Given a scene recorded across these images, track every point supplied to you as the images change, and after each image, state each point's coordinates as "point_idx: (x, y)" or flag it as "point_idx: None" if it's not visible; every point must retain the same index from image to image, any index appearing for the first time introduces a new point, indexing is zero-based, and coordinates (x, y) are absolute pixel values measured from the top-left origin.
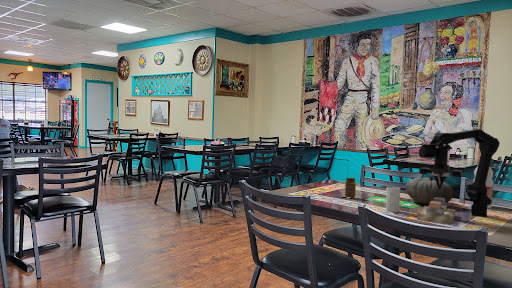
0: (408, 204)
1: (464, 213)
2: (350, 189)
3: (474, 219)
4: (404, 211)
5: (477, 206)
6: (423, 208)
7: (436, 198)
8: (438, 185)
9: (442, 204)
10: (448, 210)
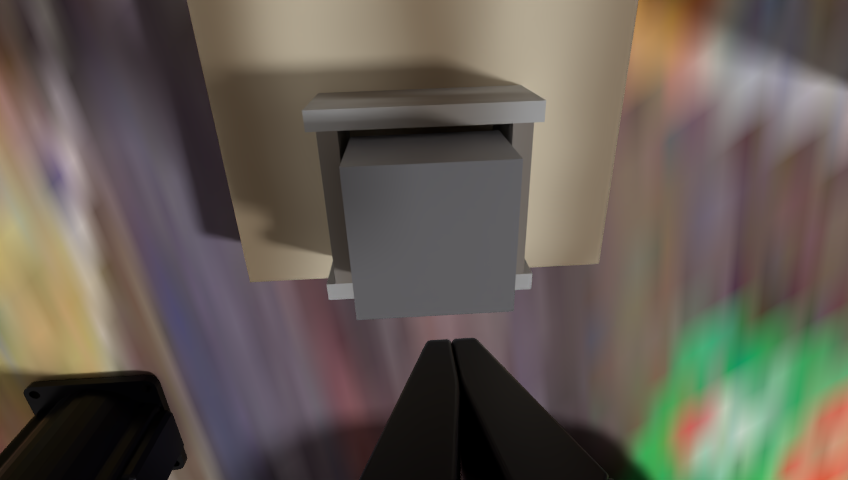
0: (720, 436)
1: (237, 410)
2: None
3: (66, 223)
4: (792, 92)
5: (56, 462)
6: (609, 90)
7: (474, 202)
8: (503, 408)
9: (359, 139)
10: (305, 196)
